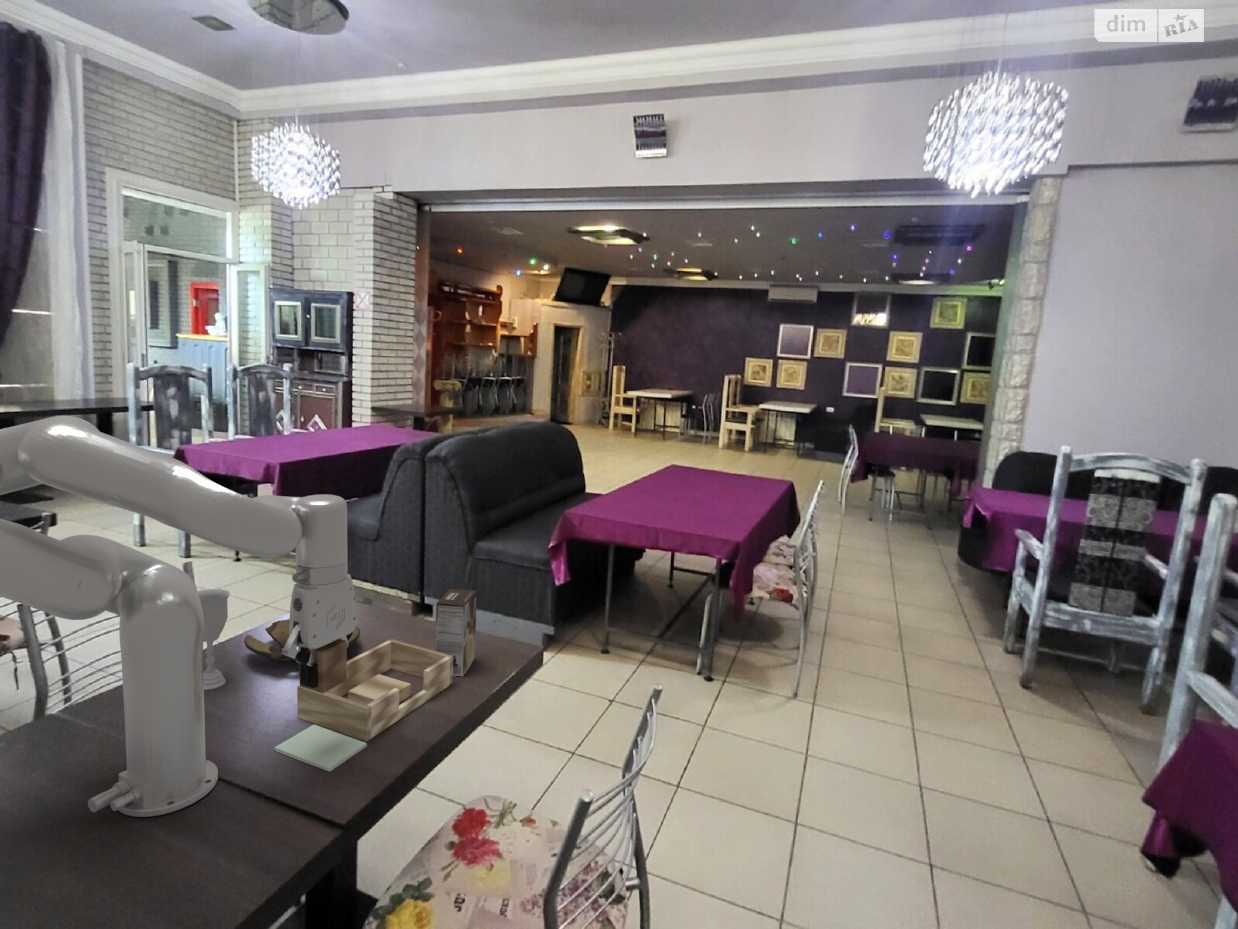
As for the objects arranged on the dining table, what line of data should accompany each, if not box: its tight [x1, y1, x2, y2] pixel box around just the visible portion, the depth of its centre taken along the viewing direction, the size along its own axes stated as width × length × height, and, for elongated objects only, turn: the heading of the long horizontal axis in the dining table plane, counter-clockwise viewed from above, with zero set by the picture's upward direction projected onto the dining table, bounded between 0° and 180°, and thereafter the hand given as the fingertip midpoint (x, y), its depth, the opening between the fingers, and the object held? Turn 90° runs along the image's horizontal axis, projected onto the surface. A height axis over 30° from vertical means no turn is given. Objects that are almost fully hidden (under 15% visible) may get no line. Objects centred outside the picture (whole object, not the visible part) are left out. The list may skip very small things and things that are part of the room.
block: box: [298, 639, 348, 694], centre depth 107 cm, size 5×5×7 cm
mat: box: [273, 724, 368, 772], centre depth 109 cm, size 8×12×1 cm, turn 68°
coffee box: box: [434, 588, 478, 678], centre depth 140 cm, size 9×6×16 cm
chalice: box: [197, 588, 231, 691], centre depth 126 cm, size 7×7×18 cm
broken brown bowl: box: [243, 618, 361, 661], centre depth 145 cm, size 22×30×8 cm
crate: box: [296, 638, 454, 743], centre depth 126 cm, size 24×16×6 cm, turn 158°
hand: (323, 677), depth 108 cm, fingers closed on block, 5 cm apart
